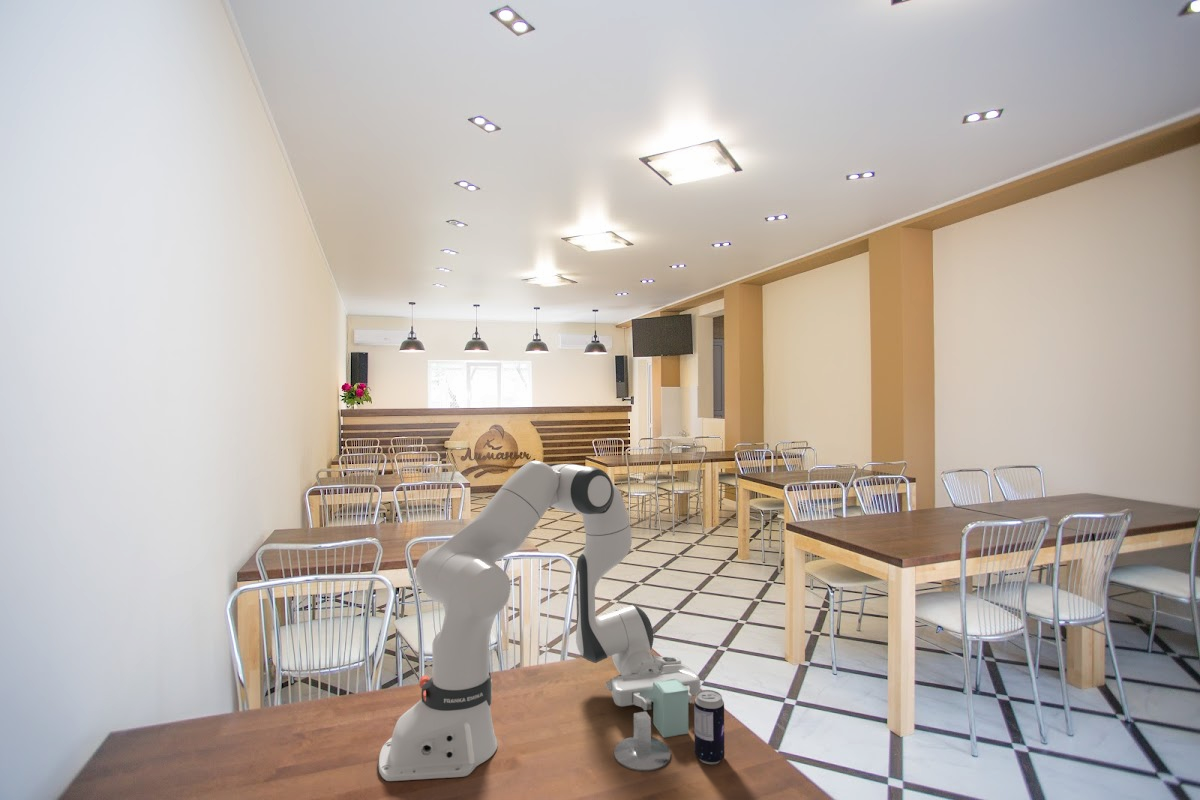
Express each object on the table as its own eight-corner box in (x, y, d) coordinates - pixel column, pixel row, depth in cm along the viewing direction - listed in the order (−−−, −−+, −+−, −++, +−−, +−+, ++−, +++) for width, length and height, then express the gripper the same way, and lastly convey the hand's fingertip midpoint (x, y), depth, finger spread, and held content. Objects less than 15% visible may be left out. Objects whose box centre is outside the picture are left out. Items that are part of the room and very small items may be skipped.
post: (624, 775, 110) (624, 734, 110) (607, 743, 120) (607, 706, 120) (679, 765, 113) (679, 725, 113) (657, 734, 123) (657, 698, 123)
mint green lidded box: (663, 737, 122) (663, 693, 122) (653, 724, 128) (653, 681, 128) (688, 733, 124) (688, 689, 124) (677, 720, 129) (677, 678, 129)
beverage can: (727, 767, 112) (726, 703, 112) (697, 766, 112) (696, 702, 112) (721, 749, 118) (721, 688, 118) (692, 749, 118) (692, 688, 118)
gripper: (603, 667, 137) (622, 695, 124) (684, 657, 143) (711, 682, 129) (603, 695, 137) (622, 725, 123) (684, 683, 142) (711, 711, 129)
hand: (668, 703), depth 126 cm, fingers open, 8 cm apart
